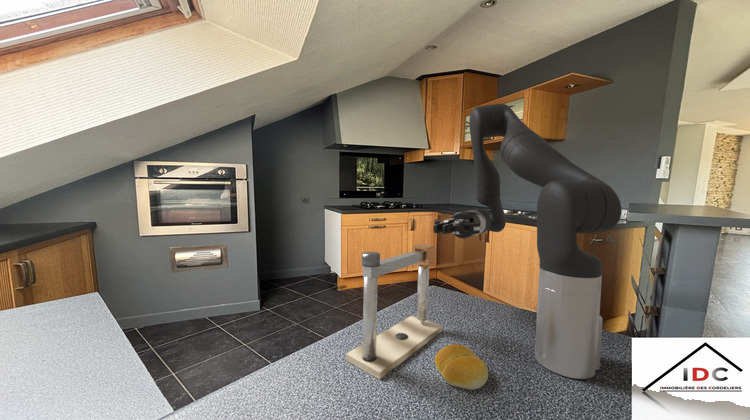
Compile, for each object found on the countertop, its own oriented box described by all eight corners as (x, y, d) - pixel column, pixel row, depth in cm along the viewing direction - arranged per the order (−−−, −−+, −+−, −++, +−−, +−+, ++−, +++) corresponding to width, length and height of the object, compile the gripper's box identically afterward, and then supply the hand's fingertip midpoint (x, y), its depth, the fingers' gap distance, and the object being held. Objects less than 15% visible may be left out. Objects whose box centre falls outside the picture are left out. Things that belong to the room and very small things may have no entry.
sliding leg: (418, 316, 67) (420, 243, 66) (433, 322, 64) (435, 245, 63) (411, 321, 65) (412, 245, 64) (426, 326, 62) (428, 247, 61)
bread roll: (454, 396, 44) (455, 371, 43) (428, 362, 52) (429, 341, 52) (500, 387, 46) (501, 363, 45) (468, 356, 54) (468, 335, 54)
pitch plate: (411, 320, 69) (412, 314, 69) (442, 331, 64) (442, 325, 64) (345, 360, 52) (345, 353, 52) (379, 379, 47) (379, 371, 47)
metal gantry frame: (421, 317, 68) (423, 238, 66) (433, 321, 65) (436, 240, 64) (356, 358, 51) (358, 253, 50) (370, 365, 49) (371, 256, 47)
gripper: (446, 209, 86) (415, 212, 73) (493, 212, 77) (467, 215, 64) (445, 234, 86) (414, 241, 73) (492, 239, 78) (466, 248, 64)
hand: (439, 229), depth 69 cm, fingers closed
